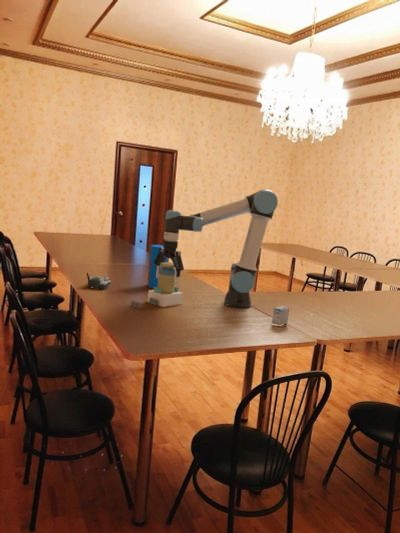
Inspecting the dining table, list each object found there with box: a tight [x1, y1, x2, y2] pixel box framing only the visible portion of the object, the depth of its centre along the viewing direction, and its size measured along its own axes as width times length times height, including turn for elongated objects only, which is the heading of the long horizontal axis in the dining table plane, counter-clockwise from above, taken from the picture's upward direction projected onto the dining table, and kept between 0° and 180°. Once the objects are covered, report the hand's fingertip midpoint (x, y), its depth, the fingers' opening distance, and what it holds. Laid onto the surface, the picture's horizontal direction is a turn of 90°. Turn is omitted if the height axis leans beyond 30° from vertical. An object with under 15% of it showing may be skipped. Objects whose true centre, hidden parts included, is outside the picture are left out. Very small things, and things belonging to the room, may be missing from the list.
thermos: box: [147, 244, 169, 289], centre depth 280 cm, size 11×11×25 cm
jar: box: [157, 262, 176, 293], centre depth 242 cm, size 9×9×15 cm
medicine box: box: [271, 305, 290, 325], centre depth 223 cm, size 8×4×9 cm, turn 141°
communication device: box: [86, 272, 112, 290], centre depth 269 cm, size 12×24×9 cm, turn 178°
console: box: [130, 285, 184, 309], centre depth 238 cm, size 12×28×8 cm, turn 138°
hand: (167, 280), depth 242 cm, fingers open, 13 cm apart
